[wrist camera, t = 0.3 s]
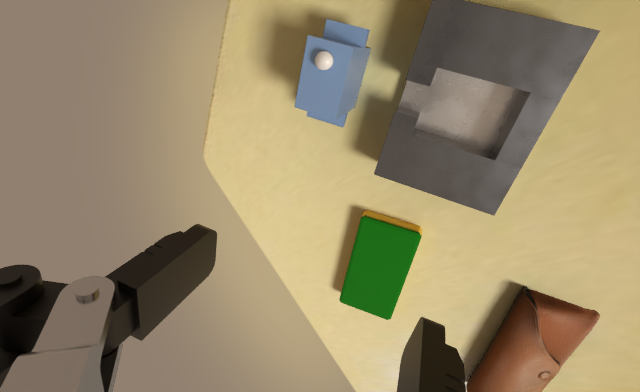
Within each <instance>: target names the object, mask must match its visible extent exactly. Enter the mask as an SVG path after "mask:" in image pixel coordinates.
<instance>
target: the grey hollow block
mask: <svg viewBox="0 0 640 392" xmlns="http://www.w3.org/2000/svg"><path fill="white" fill-rule="evenodd" d="M599 32H600V31H599V30H594V29H590V28H585V27H581V26H576V25H572V24H567V23H563V22H558V21H554V20H549V19H545V18H540V17H536V16H531V15H527V14H522V13H518V12H513V11H508V10H504V9H499V8H495V7H490V6H486V5H481V4H477V3H472V2H468V1H463V0H432V3H431V6H430V9H429V12H428V15H427V18H426V21H425V24H424V27H423V29H422V32H421V35H420V38H419V41H418V44H417V47H416V50H415V53H414V56H413V59H412V62H411V65H410V68H409V71H408V74H407V77H406V80H407V83H406V86H405V89H404V92H403V95H402V98H401V101H400V104H399V107H398V108H397V109H396V110H395V113H394V116H393V119H392V122H391V125H390V128H389V131H388V134H387V137H386V140H385V143H384V146H383V149H382V152H381V155H380V157H379V160H378V163H377V166H376V169H375V172H374V174H375V175H378V176H381V177H383V178H386V179H389V180H392V181H395V182H398V183H401V184H404V185H407V186H410V187H412V188H415V189H418V190H421V191H424V192H427V193H430V194H433V195H436V196H439V197H442V198H444V199H447V200H450V201H453V202H456V203H459V204H462V205H465V206H468V207H471V208H474V209H476V210H479V211H482V212H485V213H488V214H491V215H495V213H496V211H497V210H498V208H499V206H500V204H501V203H502V201H503V199H504V197H505V196H506V194H507V192H508V190H509V189H510V187H511V185H512V183H513V182H514V180H515V178H516V176H517V175H518V173H519V171H520V169H521V168H522V166H523V164H524V162H525V161H526V159H527V157H528V156H529V154H530V152H531V150H532V149H533V147H534V145H535V143H536V142H537V140H538V138H539V136H540V135H541V133H542V131H543V129H544V128H545V126H546V124H547V122H548V121H549V119H550V117H551V115H552V114H553V112H554V110H555V108H556V107H557V105H558V103H559V101H560V100H561V98H562V96H563V94H564V93H565V91H566V89H567V87H568V86H569V84H570V82H571V80H572V79H573V77H574V75H575V74H576V72H577V70H578V68H579V67H580V65H581V63H582V61H583V60H584V58H585V56H586V54H587V53H588V51H589V49H590V47H591V46H592V44H593V42H594V40H595V39H596V37H597V35H598V33H599Z"/></svg>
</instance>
